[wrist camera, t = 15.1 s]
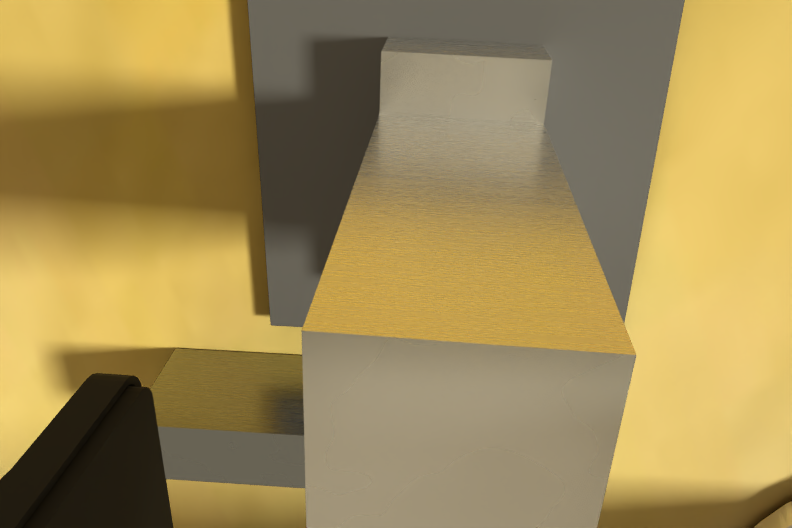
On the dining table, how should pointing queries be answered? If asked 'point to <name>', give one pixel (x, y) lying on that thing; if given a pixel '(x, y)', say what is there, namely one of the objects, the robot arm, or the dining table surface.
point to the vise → (231, 417)
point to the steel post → (461, 313)
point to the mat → (360, 105)
